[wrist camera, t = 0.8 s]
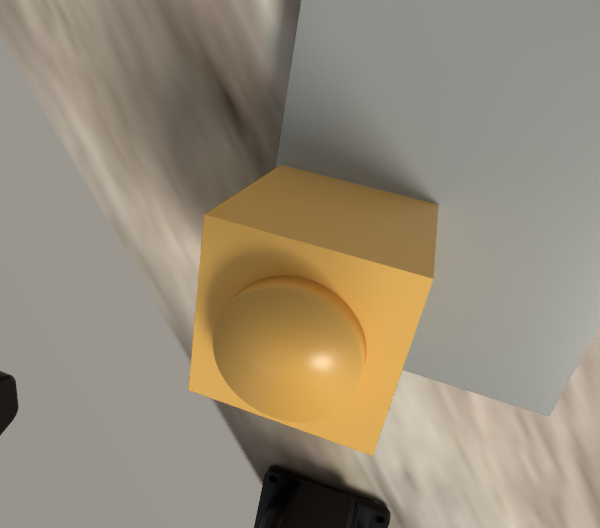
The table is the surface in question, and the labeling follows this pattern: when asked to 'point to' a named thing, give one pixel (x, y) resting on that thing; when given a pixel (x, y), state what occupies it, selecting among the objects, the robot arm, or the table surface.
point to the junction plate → (470, 168)
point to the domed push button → (311, 301)
